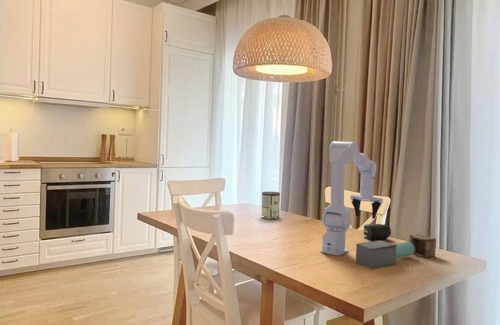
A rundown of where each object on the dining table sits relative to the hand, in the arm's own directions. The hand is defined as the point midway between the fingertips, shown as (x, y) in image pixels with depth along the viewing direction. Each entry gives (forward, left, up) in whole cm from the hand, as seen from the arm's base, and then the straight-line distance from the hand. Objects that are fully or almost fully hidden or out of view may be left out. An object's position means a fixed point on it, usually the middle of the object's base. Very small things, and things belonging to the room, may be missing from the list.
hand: (365, 217), depth 174 cm
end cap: (+4, -4, -10) cm, 12 cm away
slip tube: (-25, -20, -9) cm, 34 cm away
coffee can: (+10, +61, -10) cm, 63 cm away
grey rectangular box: (-32, -18, -10) cm, 38 cm away
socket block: (-7, -27, -10) cm, 29 cm away
